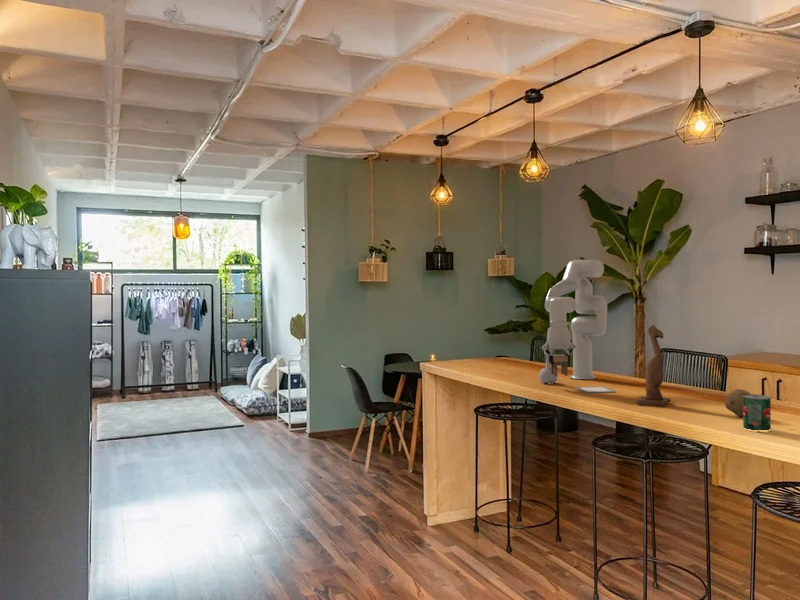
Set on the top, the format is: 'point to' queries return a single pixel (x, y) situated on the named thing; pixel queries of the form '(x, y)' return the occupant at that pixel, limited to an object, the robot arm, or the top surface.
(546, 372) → the potion bottle
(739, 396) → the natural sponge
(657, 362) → the bird sculpture
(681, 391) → the top surface
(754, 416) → the canned tomato
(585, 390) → the mat
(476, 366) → the top surface
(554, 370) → the stool
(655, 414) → the top surface
